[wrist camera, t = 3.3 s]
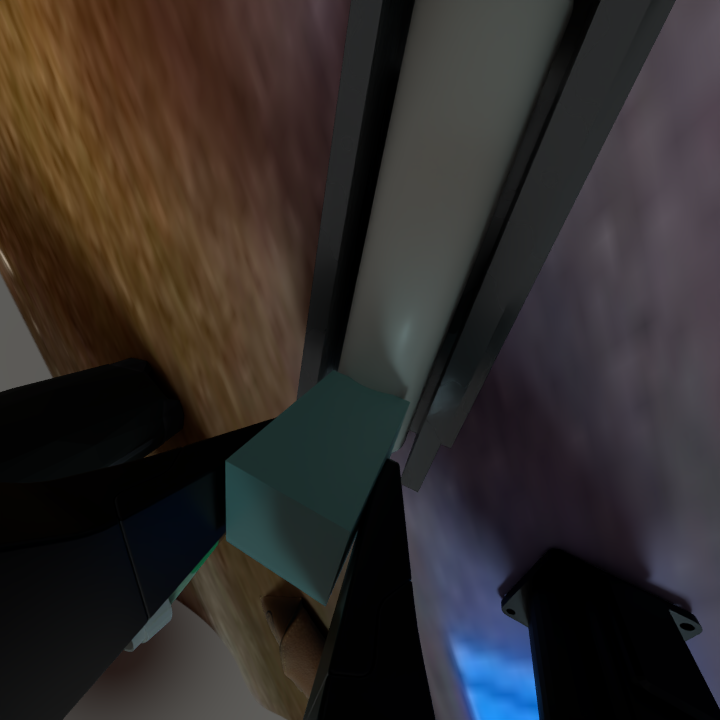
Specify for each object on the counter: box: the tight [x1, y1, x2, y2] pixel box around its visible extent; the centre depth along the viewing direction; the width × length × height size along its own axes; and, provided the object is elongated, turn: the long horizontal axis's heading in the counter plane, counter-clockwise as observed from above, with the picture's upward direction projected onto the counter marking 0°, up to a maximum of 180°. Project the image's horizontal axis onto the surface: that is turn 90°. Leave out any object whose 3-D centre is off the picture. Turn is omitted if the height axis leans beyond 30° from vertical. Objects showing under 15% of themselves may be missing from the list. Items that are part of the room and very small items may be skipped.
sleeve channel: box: [297, 0, 676, 492], centre depth 10 cm, size 16×8×4 cm, turn 167°
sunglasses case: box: [260, 596, 326, 700], centre depth 30 cm, size 18×7×7 cm, turn 33°
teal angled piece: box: [225, 0, 574, 606], centre depth 8 cm, size 13×4×8 cm, turn 167°
